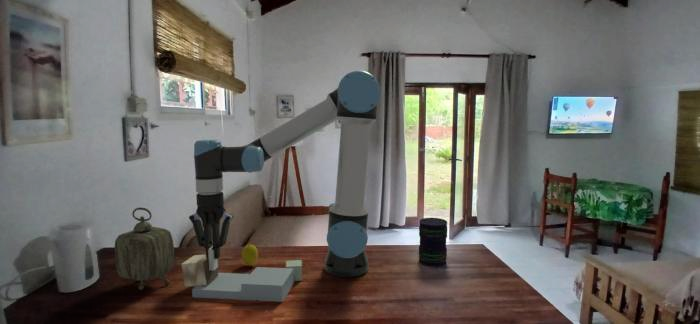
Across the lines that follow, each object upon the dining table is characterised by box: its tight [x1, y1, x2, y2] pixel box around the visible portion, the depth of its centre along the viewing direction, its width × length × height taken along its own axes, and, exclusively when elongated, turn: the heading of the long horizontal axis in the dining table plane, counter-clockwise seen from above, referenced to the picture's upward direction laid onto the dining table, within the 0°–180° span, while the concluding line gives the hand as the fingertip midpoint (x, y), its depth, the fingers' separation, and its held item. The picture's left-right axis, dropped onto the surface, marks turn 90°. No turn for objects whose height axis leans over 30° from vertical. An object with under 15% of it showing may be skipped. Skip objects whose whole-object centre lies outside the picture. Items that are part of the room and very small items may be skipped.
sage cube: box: [285, 259, 303, 282], centre depth 120 cm, size 5×5×5 cm
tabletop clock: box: [114, 207, 175, 291], centre depth 113 cm, size 14×9×25 cm, turn 74°
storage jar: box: [418, 217, 448, 268], centre depth 132 cm, size 10×10×15 cm
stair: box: [191, 266, 295, 303], centre depth 111 cm, size 27×12×5 cm, turn 83°
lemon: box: [241, 243, 259, 267], centre depth 130 cm, size 6×6×8 cm
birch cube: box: [180, 254, 219, 288], centre depth 113 cm, size 7×7×7 cm
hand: (213, 268), depth 112 cm, fingers closed
